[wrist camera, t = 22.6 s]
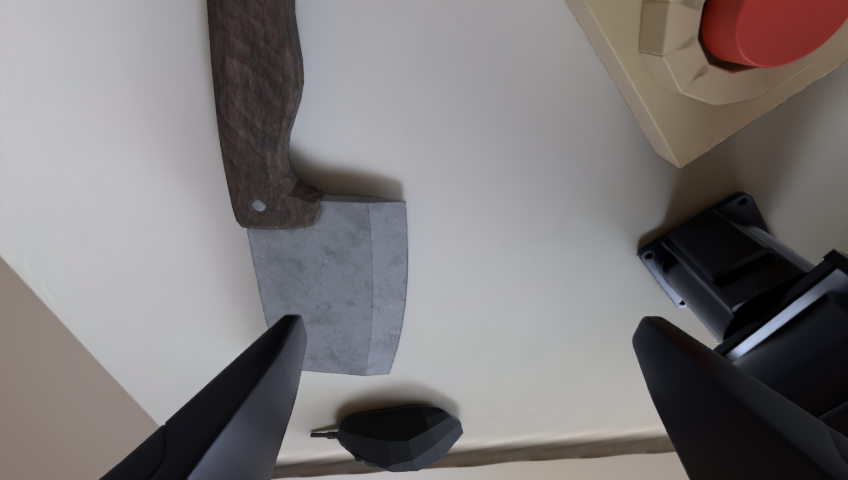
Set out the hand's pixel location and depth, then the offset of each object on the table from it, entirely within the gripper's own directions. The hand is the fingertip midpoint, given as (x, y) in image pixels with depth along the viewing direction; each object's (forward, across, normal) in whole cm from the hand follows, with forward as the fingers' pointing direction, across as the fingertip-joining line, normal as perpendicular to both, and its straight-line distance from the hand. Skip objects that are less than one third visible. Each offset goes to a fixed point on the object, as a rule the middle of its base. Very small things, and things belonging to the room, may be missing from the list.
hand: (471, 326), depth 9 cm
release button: (+8, -10, -7) cm, 15 cm away
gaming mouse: (+12, +5, +27) cm, 30 cm away
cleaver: (+12, +7, +4) cm, 15 cm away
